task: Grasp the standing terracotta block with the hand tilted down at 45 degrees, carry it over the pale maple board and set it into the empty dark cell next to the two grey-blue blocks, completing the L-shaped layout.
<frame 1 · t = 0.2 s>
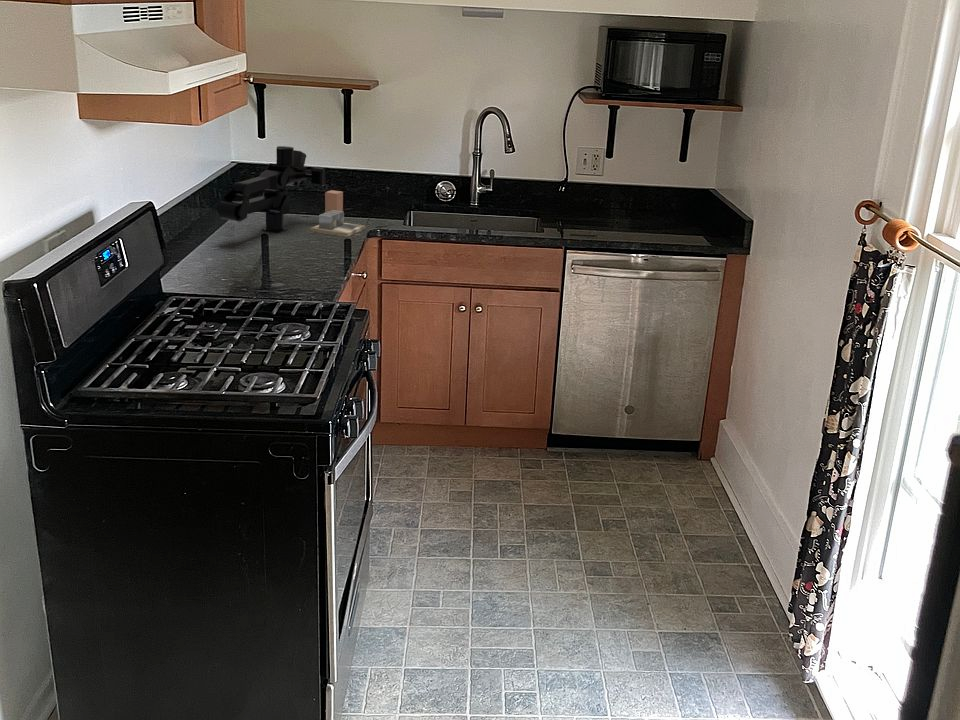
hand: (312, 172, 335), 16 cm above the worktop, fingers open, 9 cm apart
maple board: (338, 230, 324), on the worktop
terracotta block: (333, 222, 335), on the worktop
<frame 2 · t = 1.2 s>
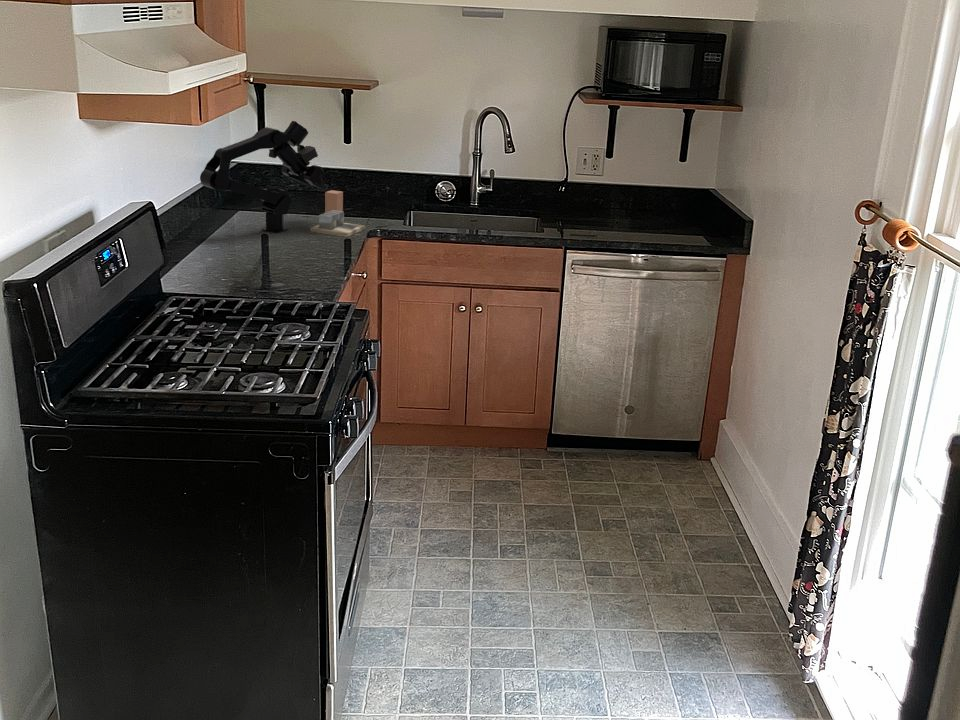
hand: (316, 186, 325), 14 cm above the worktop, fingers open, 9 cm apart
nothing on the worktop moved.
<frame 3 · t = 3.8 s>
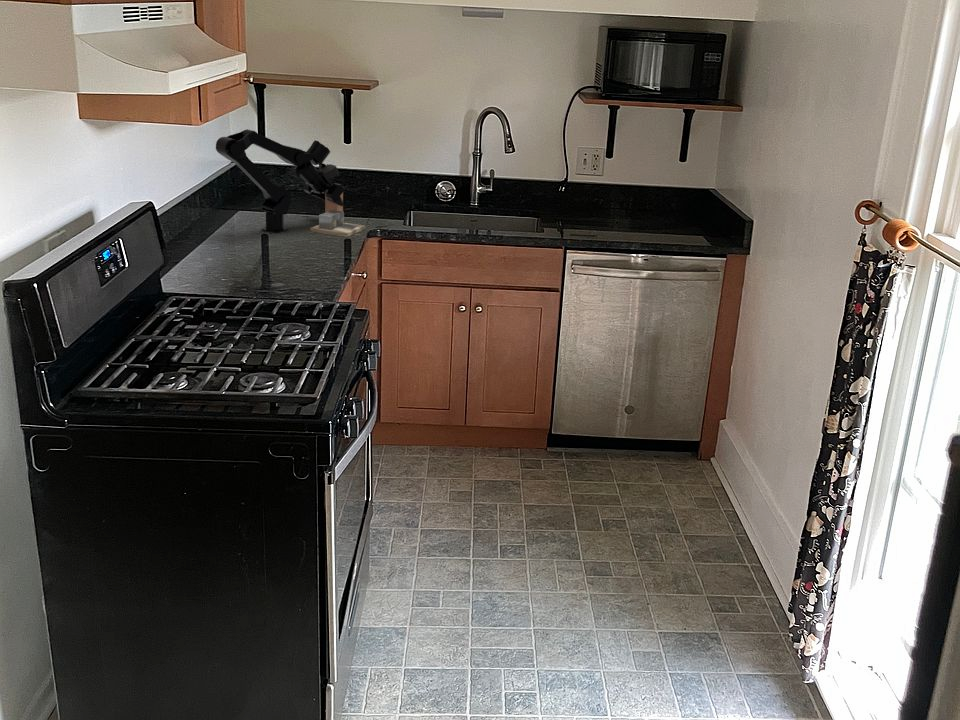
hand: (337, 203, 333), 7 cm above the worktop, fingers closed on terracotta block, 6 cm apart
terracotta block: (334, 222, 335), on the worktop, touching gripper
when the fingers open (9 cm above the worktop, at t = 7.2 s): terracotta block stays where it is, resting on maple board.
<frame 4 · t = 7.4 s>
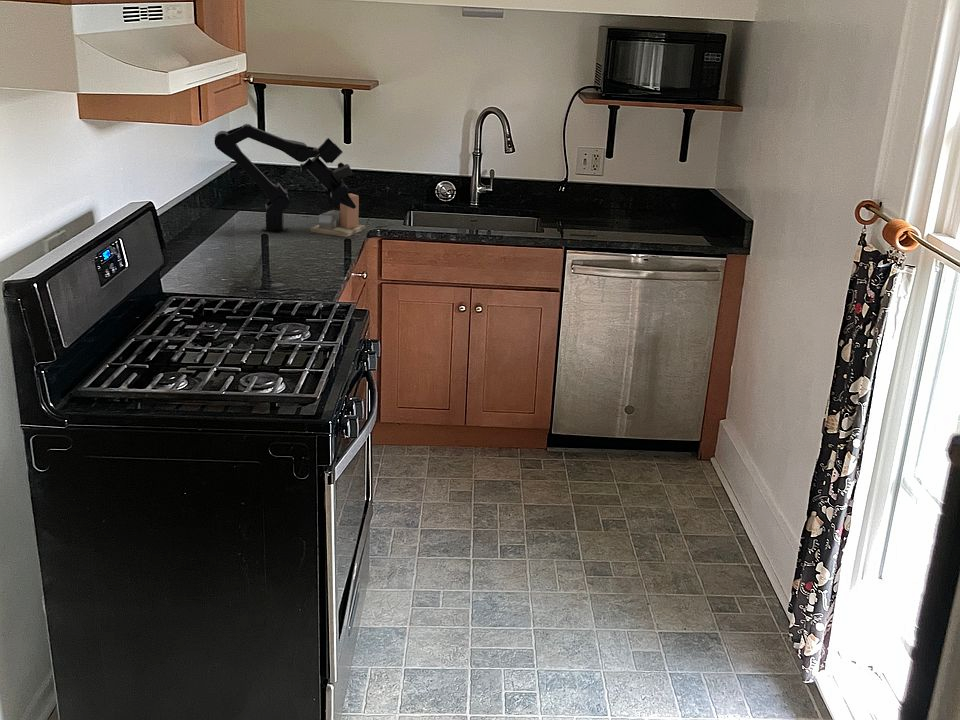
hand: (353, 205, 323), 9 cm above the worktop, fingers open, 8 cm apart
terracotta block: (349, 226, 325), point 1 cm above the worktop, touching maple board
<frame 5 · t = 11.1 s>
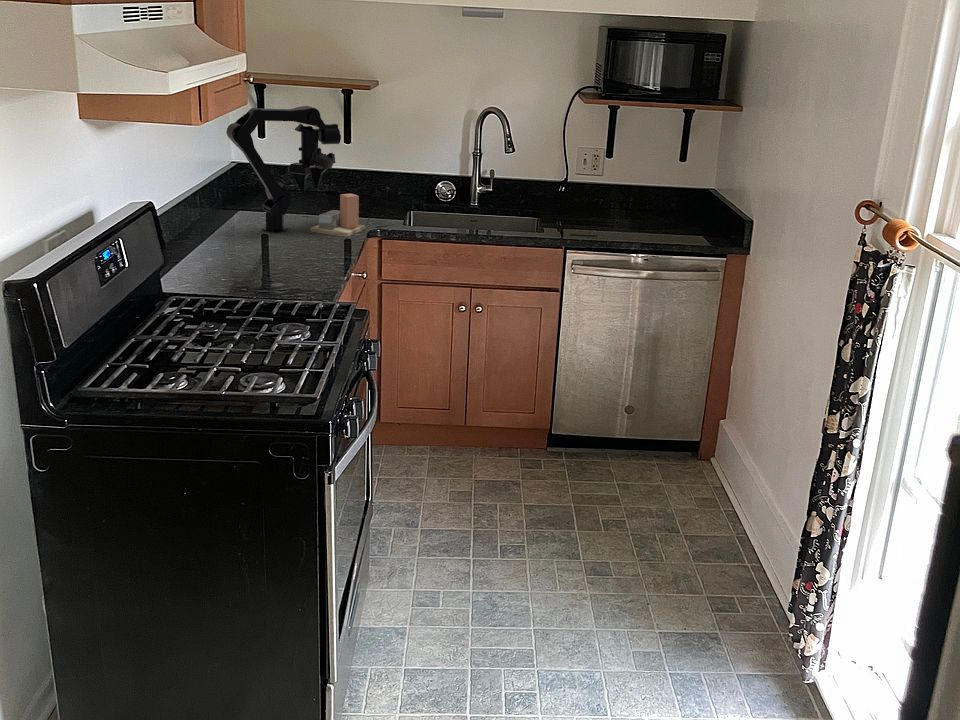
hand: (309, 190, 321), 13 cm above the worktop, fingers open, 9 cm apart
nothing on the worktop moved.
at the end: terracotta block 0.1 cm from the target spot, point 1.3 cm above the worktop; terracotta block tilted 0°; the gripper is holding nothing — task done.
